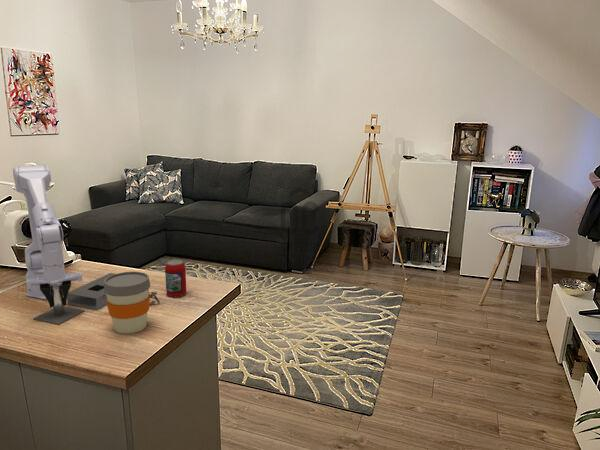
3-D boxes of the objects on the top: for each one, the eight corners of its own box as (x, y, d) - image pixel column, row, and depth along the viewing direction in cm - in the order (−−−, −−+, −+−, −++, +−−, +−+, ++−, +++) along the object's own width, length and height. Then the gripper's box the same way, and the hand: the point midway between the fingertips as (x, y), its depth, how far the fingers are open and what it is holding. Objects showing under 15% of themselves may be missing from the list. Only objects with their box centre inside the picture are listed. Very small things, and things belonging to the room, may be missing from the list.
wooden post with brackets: (162, 301, 147) (156, 291, 145) (140, 314, 145) (133, 303, 143) (162, 299, 148) (155, 289, 147) (139, 312, 146) (132, 301, 145)
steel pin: (51, 315, 137) (48, 286, 134) (59, 311, 139) (56, 283, 137) (59, 316, 136) (55, 287, 133) (67, 312, 138) (63, 284, 136)
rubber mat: (33, 319, 135) (33, 318, 135) (60, 306, 144) (60, 305, 144) (58, 325, 132) (58, 323, 131) (84, 311, 141) (84, 310, 141)
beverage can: (162, 296, 153) (160, 263, 150) (174, 289, 159) (173, 257, 156) (178, 299, 151) (176, 266, 148) (190, 292, 157) (189, 260, 154)
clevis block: (67, 304, 145) (66, 293, 144) (111, 283, 164) (110, 273, 163) (97, 310, 142) (95, 298, 141) (138, 287, 160) (137, 277, 159)
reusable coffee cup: (118, 316, 138) (114, 270, 134) (158, 317, 138) (155, 271, 134) (99, 335, 126) (94, 286, 122) (143, 337, 126) (140, 287, 122)
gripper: (23, 270, 127) (29, 314, 130) (80, 264, 133) (84, 306, 136) (26, 263, 133) (31, 305, 136) (79, 257, 139) (84, 297, 143)
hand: (58, 305), depth 137 cm, fingers closed on steel pin, 3 cm apart
